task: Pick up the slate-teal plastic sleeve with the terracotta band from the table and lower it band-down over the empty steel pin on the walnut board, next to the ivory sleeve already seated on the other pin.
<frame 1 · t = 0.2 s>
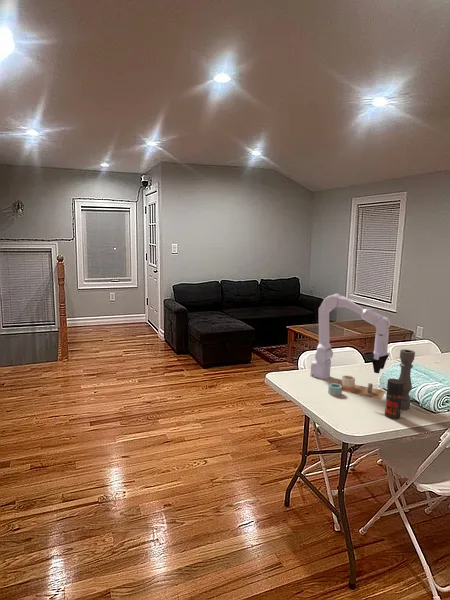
hand: (378, 370, 193), 10 cm above the table, tool pointing down, fingers open, 7 cm apart
deodorant: (392, 416, 168), on the table
pin board: (358, 392, 192), on the table
ivory sleeve: (347, 387, 195), point 1 cm above the table, touching pin board
candle holder: (402, 407, 177), on the table
teal sleeve: (334, 396, 187), on the table
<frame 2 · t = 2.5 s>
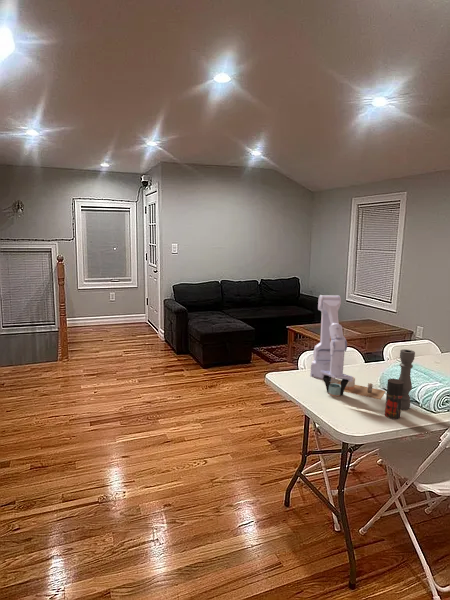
hand: (334, 393, 187), 1 cm above the table, tool pointing down, fingers closed on teal sleeve, 6 cm apart
teal sleeve: (334, 396, 187), on the table, touching gripper
everything else where it was.
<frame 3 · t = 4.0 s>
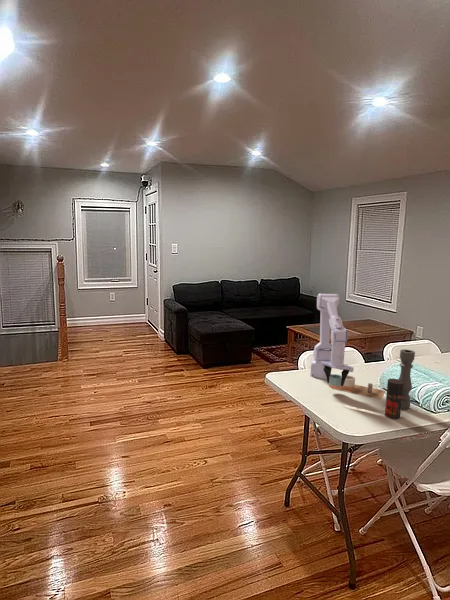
hand: (335, 383, 186), 6 cm above the table, tool pointing down, fingers closed on teal sleeve, 6 cm apart
teal sleeve: (335, 386, 187), point 4 cm above the table, touching gripper
everything else where it was.
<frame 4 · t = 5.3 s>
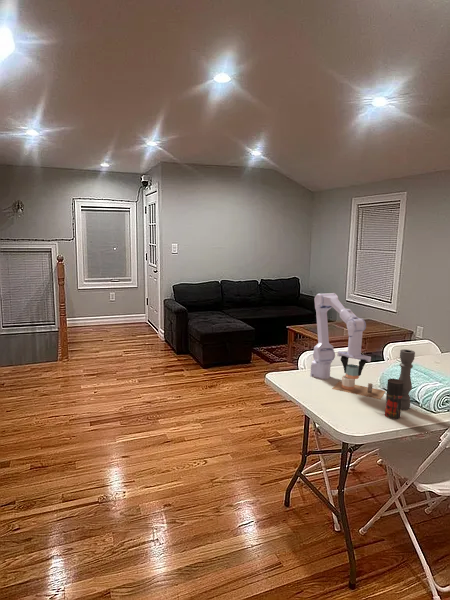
hand: (352, 373, 187), 10 cm above the table, tool pointing down, fingers closed on teal sleeve, 6 cm apart
teal sleeve: (352, 376, 187), point 9 cm above the table, touching gripper
everything else where it was.
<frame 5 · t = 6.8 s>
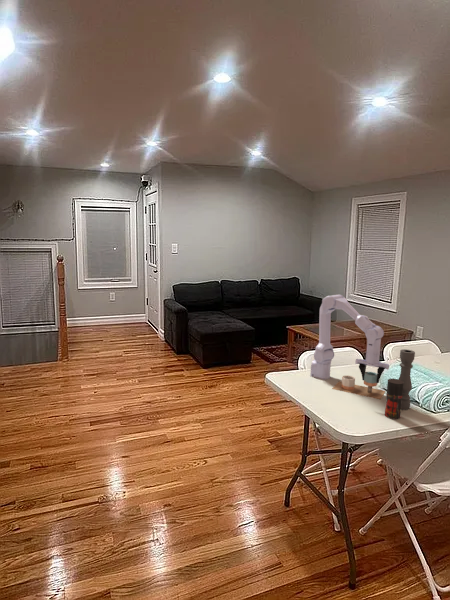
hand: (370, 381, 189), 7 cm above the table, tool pointing down, fingers closed on teal sleeve, 6 cm apart
teal sleeve: (370, 384, 189), point 5 cm above the table, touching gripper
everything else where it was.
when the fingers open (4 cm above the table, at t = 8.0 s): teal sleeve drops 1 cm, resting on pin board.
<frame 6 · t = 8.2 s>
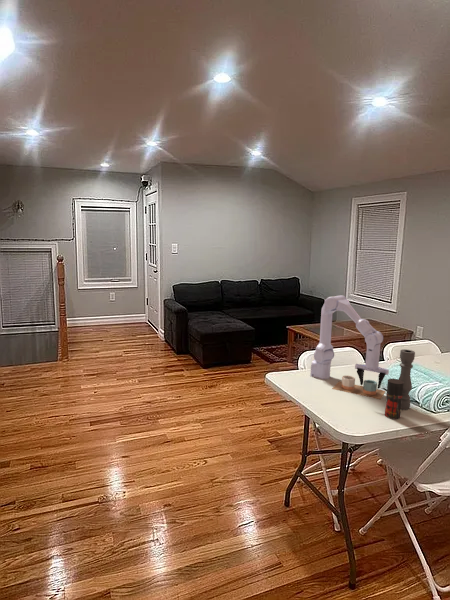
hand: (370, 386, 189), 4 cm above the table, tool pointing down, fingers open, 7 cm apart
teal sleeve: (369, 392, 190), point 1 cm above the table, touching pin board
everything else where it was.
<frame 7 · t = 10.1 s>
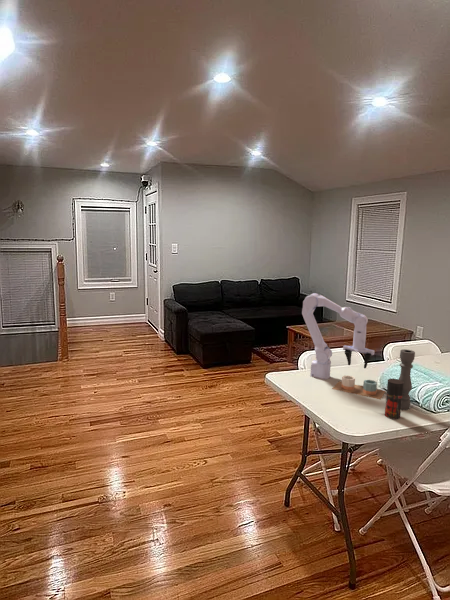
hand: (357, 366, 201), 9 cm above the table, tool pointing down, fingers open, 7 cm apart
nothing on the table moved.
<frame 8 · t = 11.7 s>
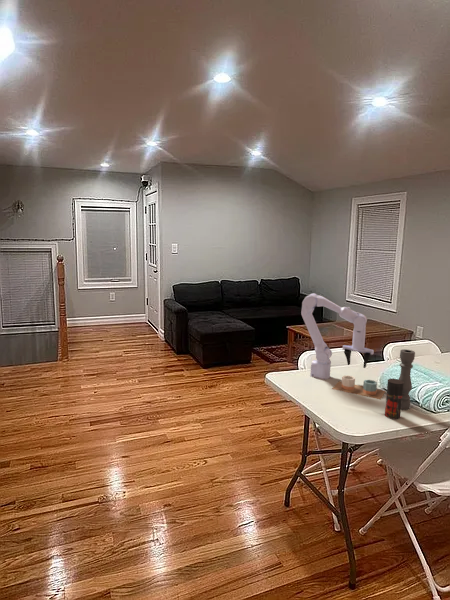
hand: (356, 365, 201), 9 cm above the table, tool pointing down, fingers open, 7 cm apart
nothing on the table moved.
at the end: teal sleeve 0.1 cm from the target spot on the pin board, point 1.2 cm above the pin board's base; teal sleeve tilted 0°; the gripper is holding nothing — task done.
